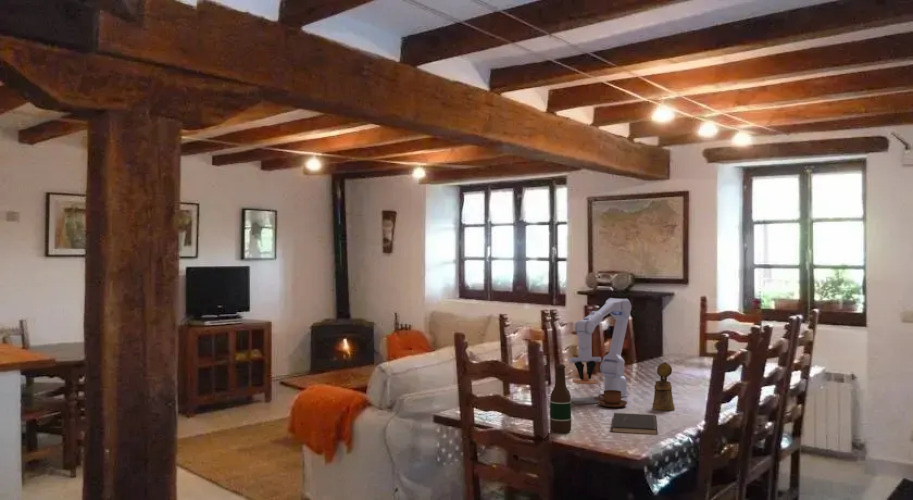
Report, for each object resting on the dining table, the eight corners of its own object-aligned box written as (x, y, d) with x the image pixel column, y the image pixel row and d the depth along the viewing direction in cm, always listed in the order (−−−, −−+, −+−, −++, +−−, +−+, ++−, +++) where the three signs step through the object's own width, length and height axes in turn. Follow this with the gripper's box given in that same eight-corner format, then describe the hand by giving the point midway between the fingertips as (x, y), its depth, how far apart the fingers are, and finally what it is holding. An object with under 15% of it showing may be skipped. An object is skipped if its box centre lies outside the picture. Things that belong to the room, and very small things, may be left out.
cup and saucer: (610, 410, 292) (610, 395, 292) (592, 405, 303) (592, 390, 303) (633, 407, 298) (633, 392, 298) (614, 402, 308) (614, 388, 308)
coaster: (589, 397, 317) (589, 396, 317) (601, 403, 305) (601, 402, 305) (564, 399, 314) (564, 398, 314) (575, 405, 302) (575, 404, 302)
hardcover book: (611, 433, 257) (611, 426, 257) (614, 418, 279) (614, 412, 279) (657, 435, 253) (657, 429, 253) (656, 420, 275) (656, 414, 275)
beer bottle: (547, 428, 262) (547, 363, 262) (568, 428, 262) (568, 363, 263) (552, 434, 254) (552, 366, 254) (573, 433, 255) (573, 366, 255)
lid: (591, 379, 315) (591, 371, 316) (602, 383, 305) (602, 375, 305) (568, 380, 313) (568, 372, 313) (578, 384, 302) (578, 376, 302)
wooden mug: (676, 405, 301) (676, 362, 301) (673, 411, 289) (673, 367, 289) (654, 403, 304) (654, 361, 304) (651, 410, 292) (650, 366, 292)
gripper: (596, 345, 315) (596, 376, 314) (565, 347, 311) (566, 378, 311) (603, 347, 308) (603, 379, 308) (572, 349, 304) (572, 381, 304)
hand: (585, 378), depth 309 cm, fingers closed on lid, 3 cm apart
